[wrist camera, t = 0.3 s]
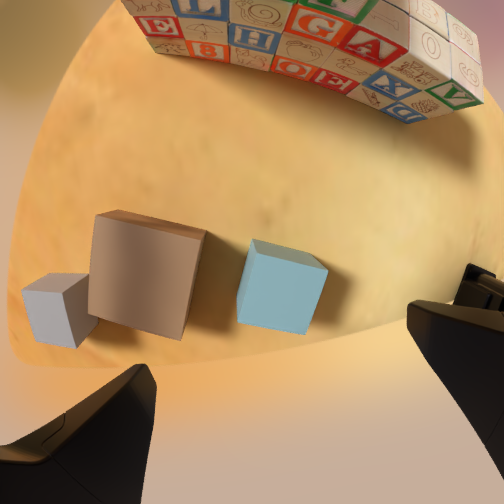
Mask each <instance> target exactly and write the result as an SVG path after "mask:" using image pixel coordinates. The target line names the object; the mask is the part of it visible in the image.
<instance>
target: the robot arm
mask: <svg viewBox="0 0 504 504" xmlns="http://www.w3.org/2000/svg"><path fill="white" fill-rule="evenodd" d="M407 329H408V331H409V332H410V334H411V336H412V337H413V339H414V341H415V342H416V344H417V346H418V347H419V349H420V351H421V353H422V354H423V356H424V357H425V359H426V360H427V362H428V364H429V365H430V366H431V368H432V369H433V370H434V372H435V373H436V374H437V376H438V377H439V378H440V380H441V381H442V382H443V384H444V385H445V387H446V388H447V390H448V391H449V392H450V394H451V395H452V397H453V398H454V400H455V401H456V402H457V404H458V406H459V407H460V408H461V410H462V411H463V413H464V414H465V416H466V417H467V419H468V420H469V422H470V424H471V425H472V427H473V428H474V430H475V431H476V433H477V435H478V436H479V438H480V439H481V441H482V443H483V444H484V445H485V448H486V449H487V451H488V453H489V455H490V456H491V458H492V460H493V461H494V463H495V465H496V467H497V468H498V470H499V472H500V474H501V476H502V478H503V479H504V282H502V281H500V280H498V279H496V275H495V274H493V273H491V272H489V271H487V270H485V269H482V268H480V267H478V266H476V265H474V264H471V263H469V264H468V265H467V267H466V270H465V273H464V276H463V278H462V281H461V284H460V287H459V289H458V292H457V295H456V297H455V300H454V302H453V305H450V304H443V303H437V302H430V301H424V300H416V301H413V302H410V303H409V304H408V306H407ZM156 391H157V386H156V382H155V380H154V378H153V376H152V374H151V372H150V370H149V368H148V366H147V365H146V364H135V365H133V366H132V367H130V368H129V369H127V370H126V371H125V372H123V373H122V374H120V375H119V376H117V377H116V378H115V379H113V380H112V381H110V382H109V383H107V384H106V385H104V386H103V387H102V388H100V389H99V390H97V391H96V392H94V393H93V394H91V395H90V396H88V397H87V398H85V399H84V400H83V401H81V402H80V403H78V404H77V405H75V406H74V407H72V408H71V409H69V410H68V411H66V413H63V414H62V415H60V416H59V417H57V418H55V419H54V420H52V421H51V422H49V423H47V424H46V425H44V426H42V427H41V428H39V429H37V430H35V431H34V432H32V433H30V434H28V435H26V436H24V437H22V438H20V439H19V440H17V441H15V442H13V443H11V444H7V445H2V446H0V504H141V497H142V490H143V483H144V477H145V470H146V464H147V458H148V452H149V447H150V441H151V436H152V431H153V425H154V414H155V402H156Z"/></svg>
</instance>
